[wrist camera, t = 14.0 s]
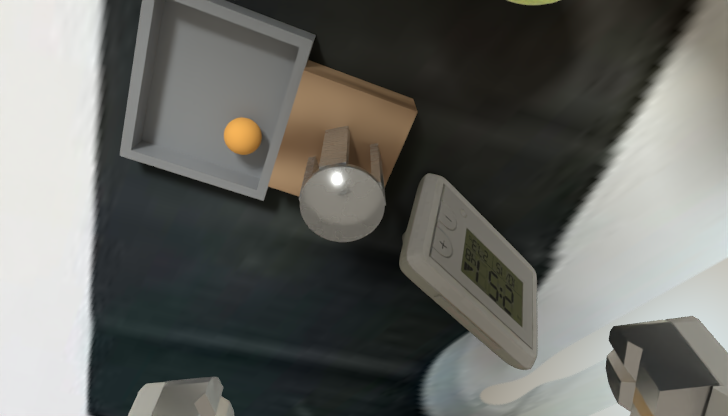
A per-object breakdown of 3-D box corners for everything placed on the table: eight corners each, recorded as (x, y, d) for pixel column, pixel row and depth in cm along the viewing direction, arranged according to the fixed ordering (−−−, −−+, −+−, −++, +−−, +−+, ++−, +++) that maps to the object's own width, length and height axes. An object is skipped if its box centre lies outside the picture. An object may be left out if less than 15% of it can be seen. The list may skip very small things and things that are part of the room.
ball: (233, 108, 38) (270, 122, 39) (227, 115, 41) (262, 128, 42) (221, 144, 38) (259, 158, 39) (216, 149, 41) (251, 161, 42)
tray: (158, -26, 36) (145, -23, 34) (315, 35, 38) (313, 40, 36) (132, 144, 42) (119, 155, 40) (268, 187, 44) (263, 200, 42)
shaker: (372, 120, 38) (375, 159, 31) (386, 184, 40) (392, 233, 34) (301, 135, 38) (289, 177, 31) (320, 197, 41) (312, 248, 34)
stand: (308, 59, 39) (303, 70, 36) (413, 98, 40) (417, 112, 37) (274, 168, 43) (267, 186, 40) (369, 200, 45) (370, 219, 42)
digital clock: (537, 275, 49) (579, 354, 40) (457, 313, 51) (479, 396, 42) (463, 147, 43) (492, 206, 33) (375, 197, 45) (378, 266, 36)
